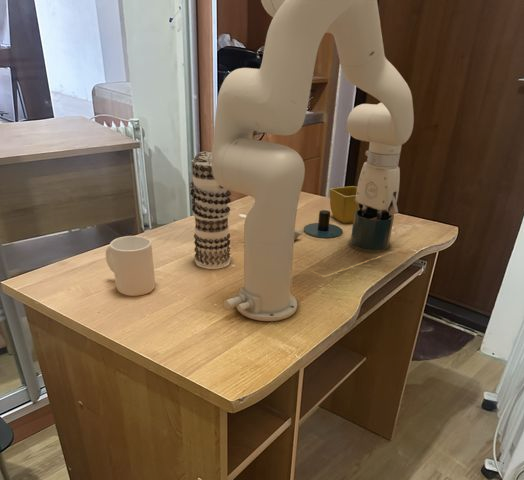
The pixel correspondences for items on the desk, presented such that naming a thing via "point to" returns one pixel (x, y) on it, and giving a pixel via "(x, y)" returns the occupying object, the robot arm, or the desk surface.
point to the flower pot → (343, 203)
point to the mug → (132, 264)
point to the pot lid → (323, 227)
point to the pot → (371, 231)
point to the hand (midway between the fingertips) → (371, 231)
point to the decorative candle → (209, 215)
